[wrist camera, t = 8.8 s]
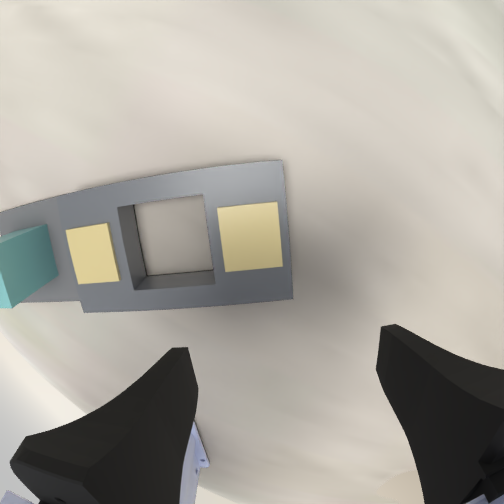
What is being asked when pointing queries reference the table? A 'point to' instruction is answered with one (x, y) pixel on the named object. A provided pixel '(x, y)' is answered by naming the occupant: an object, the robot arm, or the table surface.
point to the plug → (25, 264)
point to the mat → (49, 214)
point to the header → (219, 230)
